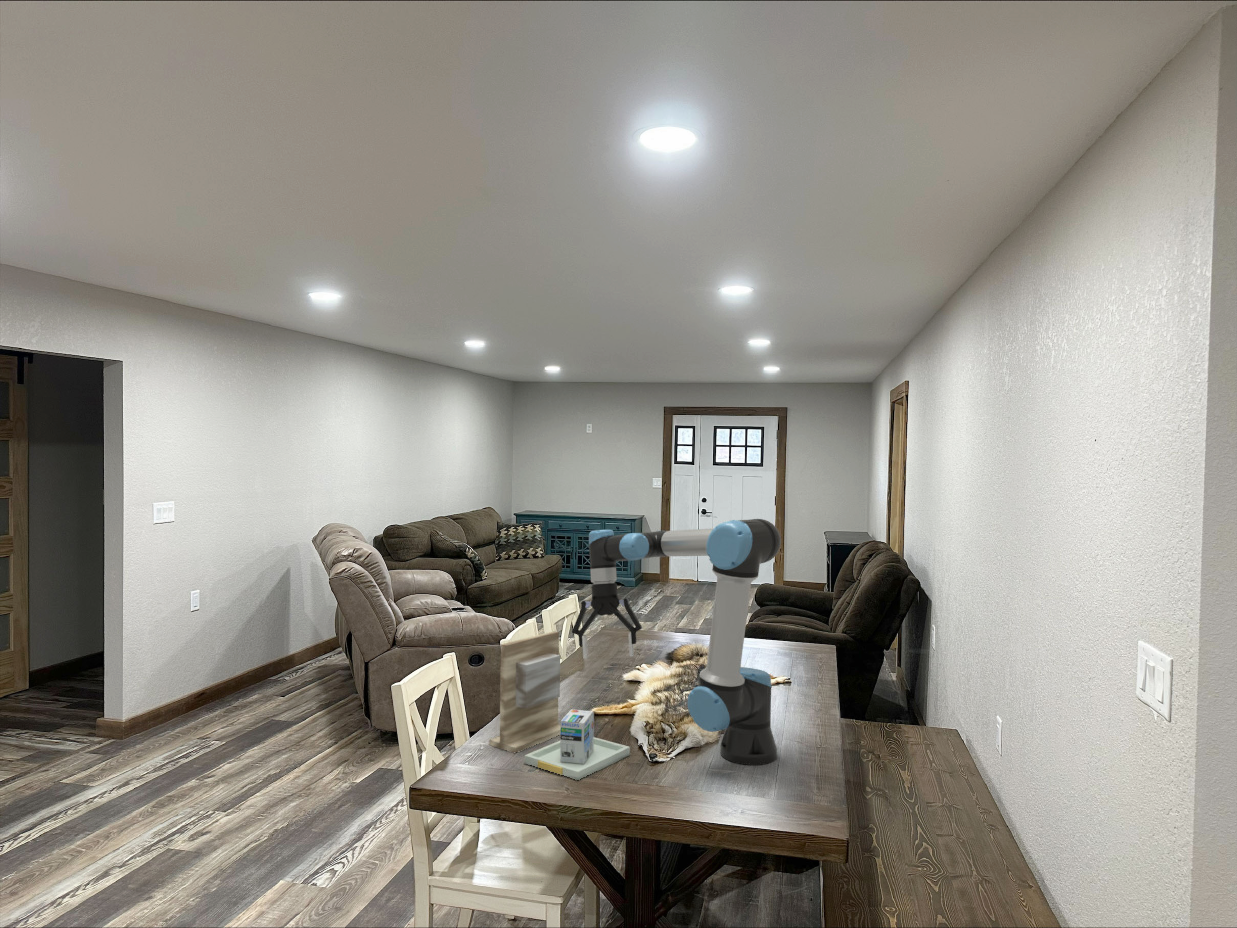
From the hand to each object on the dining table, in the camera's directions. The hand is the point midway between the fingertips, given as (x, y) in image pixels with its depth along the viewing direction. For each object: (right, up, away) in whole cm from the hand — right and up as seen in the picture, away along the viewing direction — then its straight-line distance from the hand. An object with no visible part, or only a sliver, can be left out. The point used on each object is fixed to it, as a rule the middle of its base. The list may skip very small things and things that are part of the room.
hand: (608, 657), depth 233 cm
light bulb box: (-8, -22, -20) cm, 30 cm away
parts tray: (-8, -22, -20) cm, 31 cm away
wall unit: (-22, -22, -4) cm, 32 cm away
